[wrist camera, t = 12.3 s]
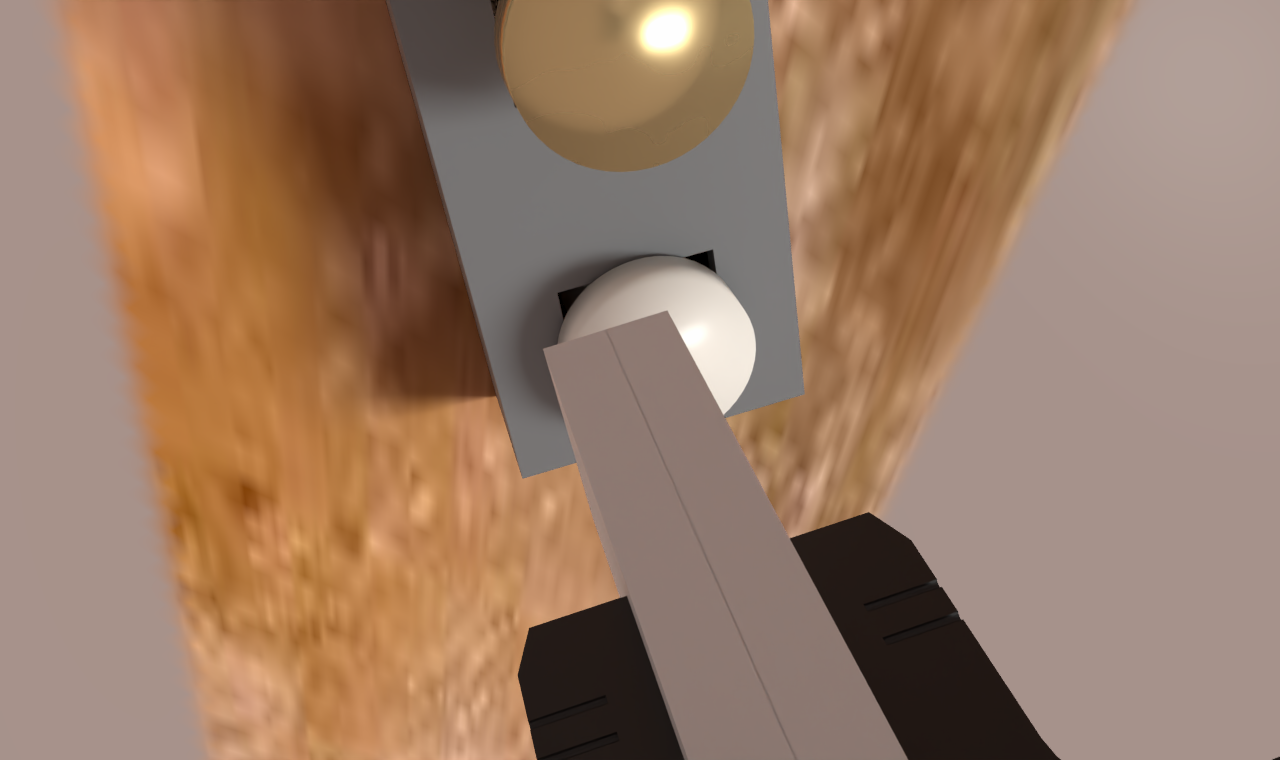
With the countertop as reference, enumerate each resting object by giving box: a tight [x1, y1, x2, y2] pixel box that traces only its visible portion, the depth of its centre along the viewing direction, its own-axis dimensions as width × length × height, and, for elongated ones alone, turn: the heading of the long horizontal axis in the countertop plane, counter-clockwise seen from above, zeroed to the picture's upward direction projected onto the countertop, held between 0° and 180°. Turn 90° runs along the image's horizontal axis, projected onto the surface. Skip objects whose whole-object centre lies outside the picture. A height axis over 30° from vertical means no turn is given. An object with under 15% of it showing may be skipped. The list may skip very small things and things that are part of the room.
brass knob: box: [494, 0, 754, 172], centre depth 30 cm, size 6×6×6 cm
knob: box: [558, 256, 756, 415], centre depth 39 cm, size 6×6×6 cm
